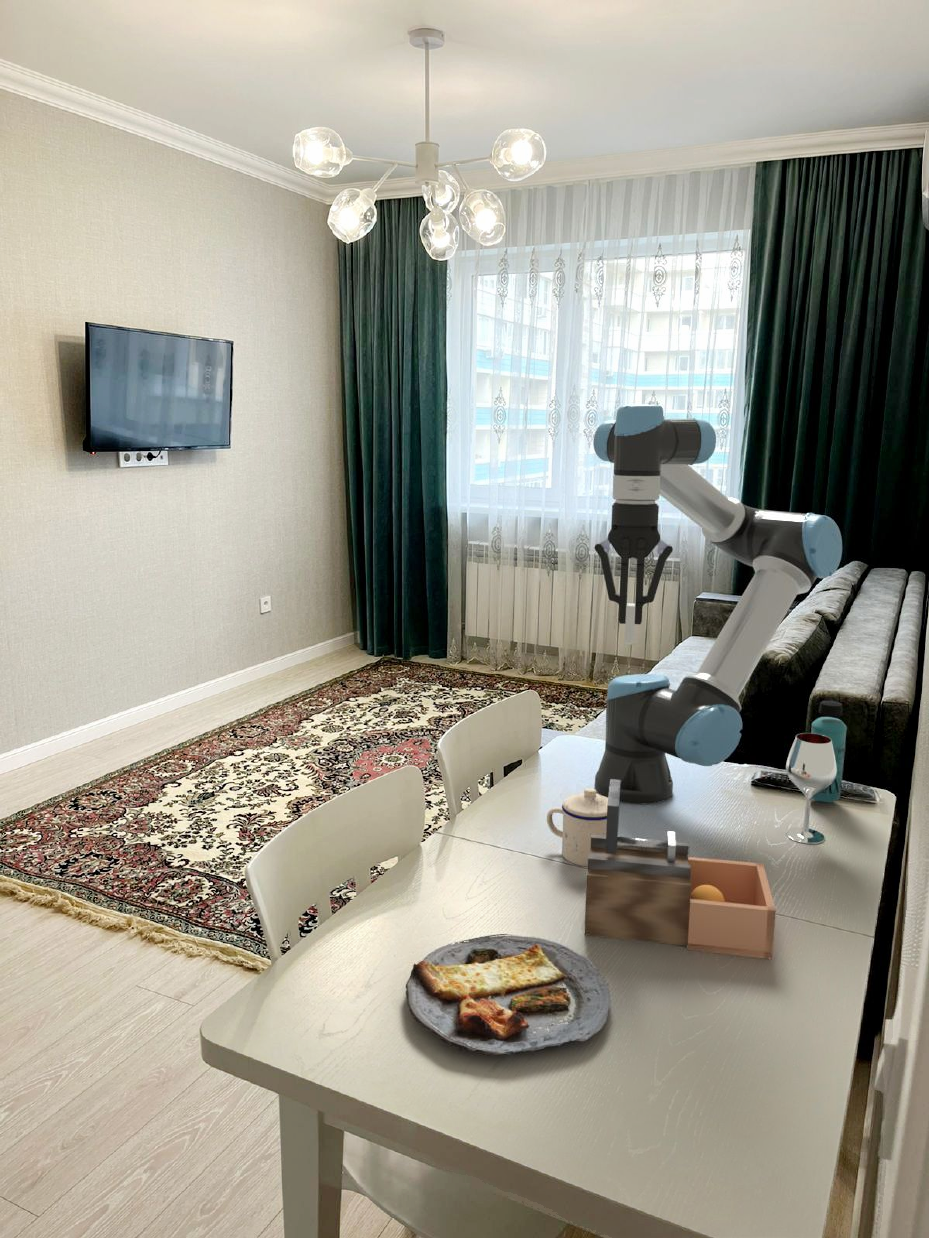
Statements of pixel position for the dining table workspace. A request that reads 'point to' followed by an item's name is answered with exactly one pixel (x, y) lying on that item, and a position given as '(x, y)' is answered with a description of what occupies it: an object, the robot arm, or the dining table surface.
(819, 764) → the wineglass
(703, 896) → the ball
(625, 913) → the launcher
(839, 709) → the beverage bottle
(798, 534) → the robot arm
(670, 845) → the plunger
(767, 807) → the dining table surface
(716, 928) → the cup
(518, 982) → the food plate
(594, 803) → the teacup with lid
